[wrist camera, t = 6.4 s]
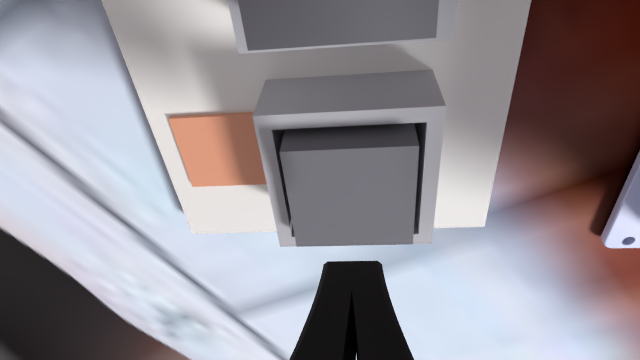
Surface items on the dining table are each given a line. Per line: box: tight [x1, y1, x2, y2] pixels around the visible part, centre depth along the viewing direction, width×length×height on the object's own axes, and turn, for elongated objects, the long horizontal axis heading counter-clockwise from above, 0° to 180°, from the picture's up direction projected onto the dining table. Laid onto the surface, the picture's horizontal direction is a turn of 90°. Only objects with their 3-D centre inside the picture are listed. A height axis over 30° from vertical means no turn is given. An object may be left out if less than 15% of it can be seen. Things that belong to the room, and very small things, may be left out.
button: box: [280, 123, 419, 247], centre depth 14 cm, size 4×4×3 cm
